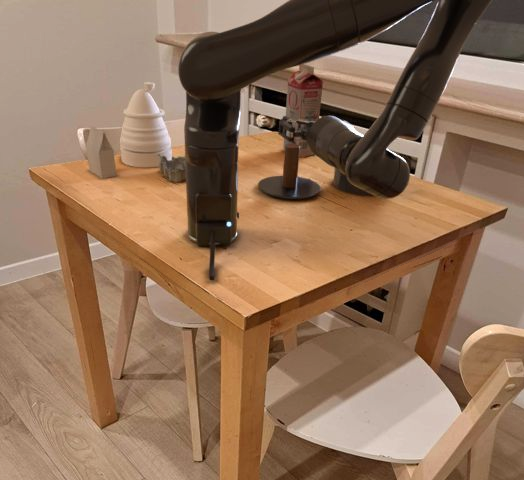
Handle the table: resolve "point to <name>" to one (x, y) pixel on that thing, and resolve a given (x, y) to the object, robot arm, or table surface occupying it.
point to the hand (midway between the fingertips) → (303, 121)
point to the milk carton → (303, 101)
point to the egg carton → (173, 168)
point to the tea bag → (100, 154)
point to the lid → (289, 179)
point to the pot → (346, 184)
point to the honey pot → (144, 131)
